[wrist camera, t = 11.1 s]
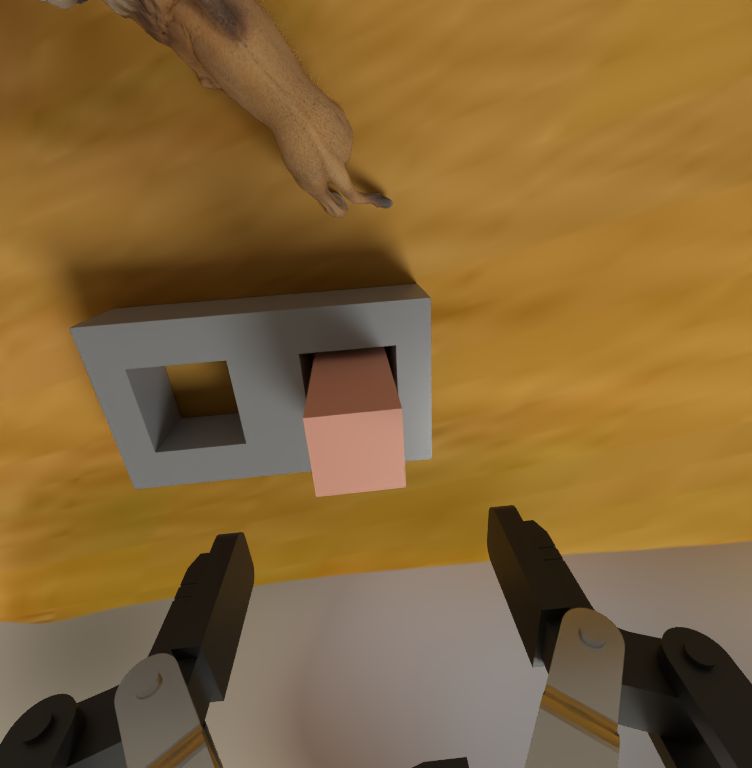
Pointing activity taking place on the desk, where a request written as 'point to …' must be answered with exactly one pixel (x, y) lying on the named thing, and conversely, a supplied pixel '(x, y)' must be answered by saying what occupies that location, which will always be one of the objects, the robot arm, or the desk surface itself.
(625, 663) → the robot arm
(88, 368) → the pocket board
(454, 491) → the desk surface
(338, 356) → the peg
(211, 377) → the desk surface
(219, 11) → the lion figurine
